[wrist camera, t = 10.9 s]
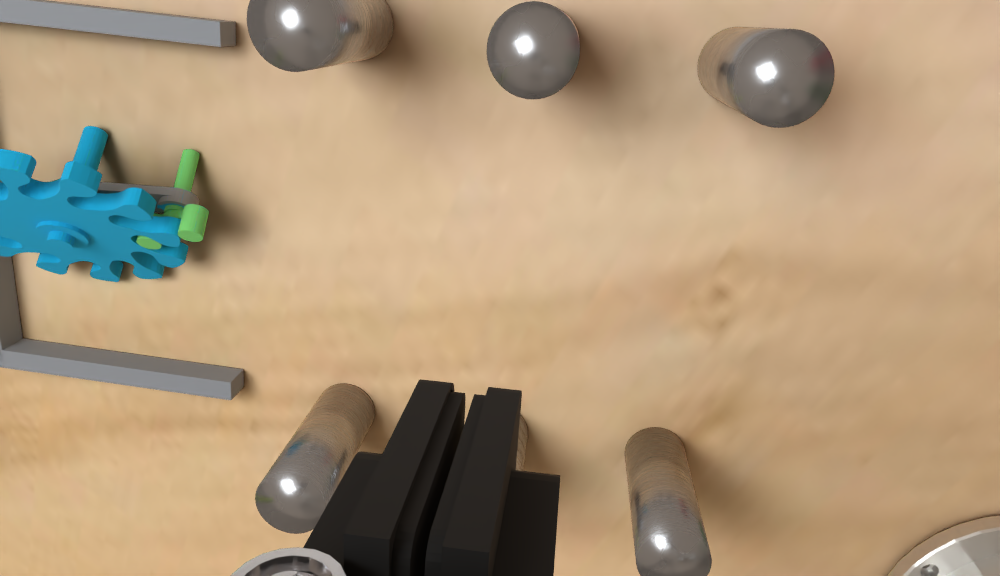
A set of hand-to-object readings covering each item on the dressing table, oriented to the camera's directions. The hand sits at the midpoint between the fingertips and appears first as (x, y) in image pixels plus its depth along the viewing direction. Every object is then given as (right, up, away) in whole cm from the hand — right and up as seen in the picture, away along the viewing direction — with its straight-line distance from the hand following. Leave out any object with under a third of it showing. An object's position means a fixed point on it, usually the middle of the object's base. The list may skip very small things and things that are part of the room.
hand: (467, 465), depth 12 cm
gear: (-18, +7, +24) cm, 30 cm away
